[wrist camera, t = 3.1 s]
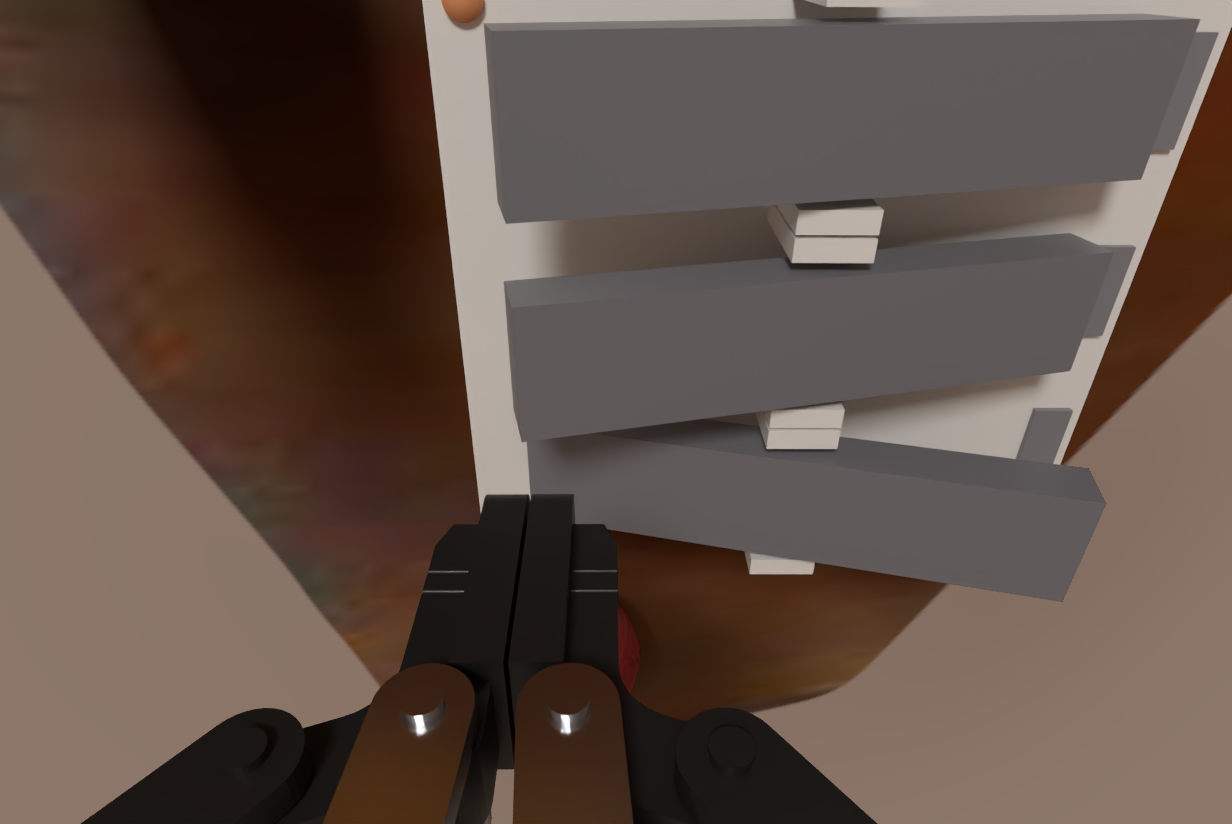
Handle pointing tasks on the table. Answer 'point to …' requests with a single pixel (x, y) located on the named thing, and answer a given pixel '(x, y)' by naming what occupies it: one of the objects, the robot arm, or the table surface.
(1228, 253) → the table surface
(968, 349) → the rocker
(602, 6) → the board rack
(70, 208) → the table surface
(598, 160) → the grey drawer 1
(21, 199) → the table surface
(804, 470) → the grey board
